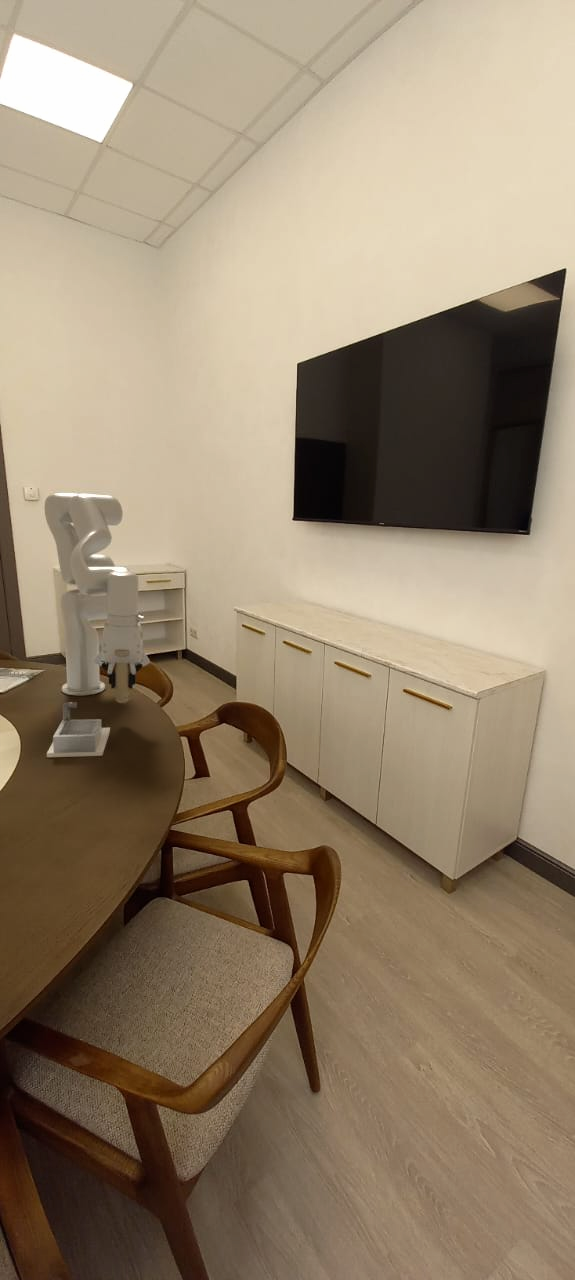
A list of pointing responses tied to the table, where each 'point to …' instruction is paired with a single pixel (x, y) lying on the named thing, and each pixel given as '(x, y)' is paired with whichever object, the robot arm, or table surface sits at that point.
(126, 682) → the handle
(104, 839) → the table surface
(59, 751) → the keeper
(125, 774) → the table surface
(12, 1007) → the table surface
